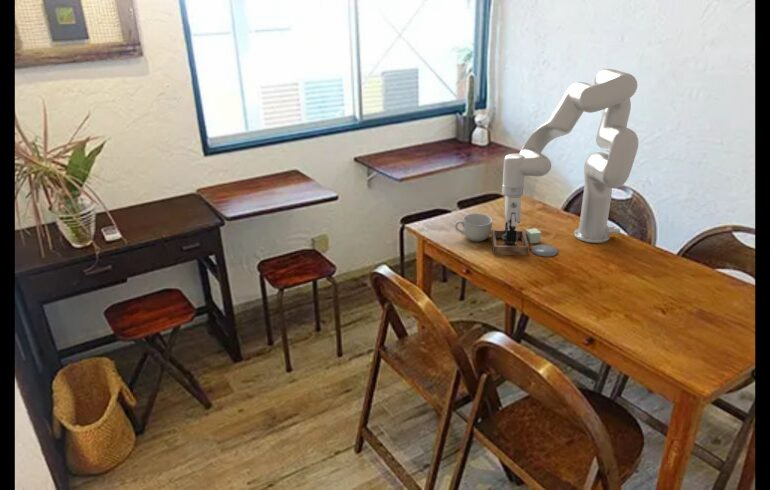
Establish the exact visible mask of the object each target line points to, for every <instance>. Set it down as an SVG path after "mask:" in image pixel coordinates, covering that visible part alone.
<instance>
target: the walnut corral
mask: <svg viewBox="0 0 770 490" xmlns="http://www.w3.org/2000/svg"><path fill="white" fill-rule="evenodd" d="M503 234H506V233H505V229H491V233H490V236H491V237H490V238H491V244H492V252H493V255H504V256H505V255H507V256H508V255H510V256H511V255H515V256H516V255H517V256H529V251H530V245H529V242H528V241H527V238H526V230H524V229H516V235H518V237H519V238H518V239H521V243H522V245H517V246H502V245H497V239H503V238H502V235H503ZM518 239H517V240H518Z"/></svg>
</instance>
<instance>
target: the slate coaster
mask: <svg viewBox="0 0 770 490" xmlns="http://www.w3.org/2000/svg"><path fill="white" fill-rule="evenodd" d="M530 251H531V253H532V254H533V255H536V256H538V257H543V258H544V257H545V258H551V257H554V256H557V255H558V252H559V251H558V249H557V247H555V246H553V245H550V244H543V243H542V244H536V245H535V244H534V245H533V246H532V247H531V249H530Z"/></svg>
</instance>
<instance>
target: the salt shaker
mask: <svg viewBox="0 0 770 490" xmlns="http://www.w3.org/2000/svg"><path fill="white" fill-rule="evenodd" d="M509 222H511V221H509ZM506 223H507V222H506ZM510 226H511V224H510ZM506 228H507V230H508V223H507V226H506ZM507 230H506V234H503V235H502V238H501V239H502V241H503V243H502V245H501V246H518V245H517V241H518V238H519V237H518V235H516V241H507V240H506V238H507Z"/></svg>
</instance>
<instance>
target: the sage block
mask: <svg viewBox="0 0 770 490" xmlns="http://www.w3.org/2000/svg"><path fill="white" fill-rule="evenodd" d="M525 234H526V238H527V242H528V244H536V243H541V237H542V232H541V231H540V230H539V229H537V228H529V229H526V230H525Z"/></svg>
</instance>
